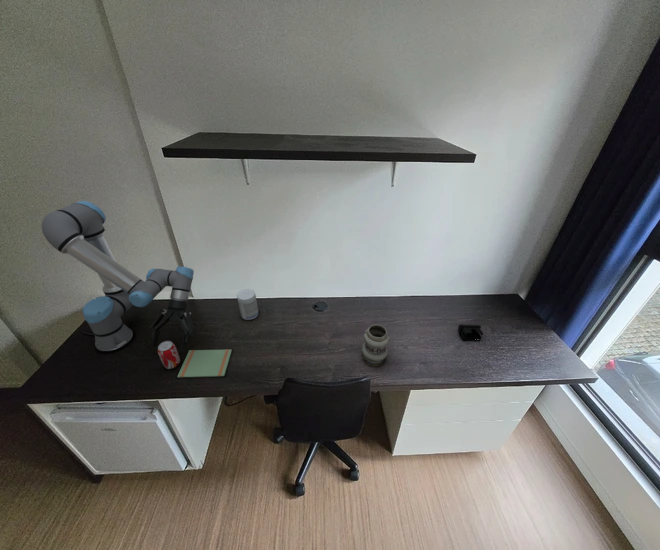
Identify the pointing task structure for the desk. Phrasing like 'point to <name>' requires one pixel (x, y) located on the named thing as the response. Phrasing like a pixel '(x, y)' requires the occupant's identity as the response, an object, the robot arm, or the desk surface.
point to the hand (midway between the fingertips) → (168, 347)
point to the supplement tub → (247, 304)
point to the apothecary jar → (375, 345)
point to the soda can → (168, 354)
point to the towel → (205, 363)
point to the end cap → (469, 332)
